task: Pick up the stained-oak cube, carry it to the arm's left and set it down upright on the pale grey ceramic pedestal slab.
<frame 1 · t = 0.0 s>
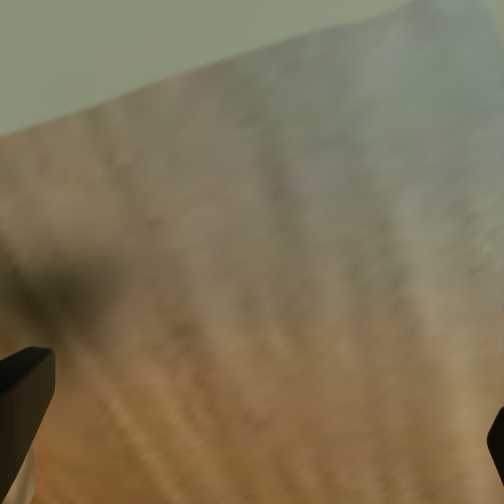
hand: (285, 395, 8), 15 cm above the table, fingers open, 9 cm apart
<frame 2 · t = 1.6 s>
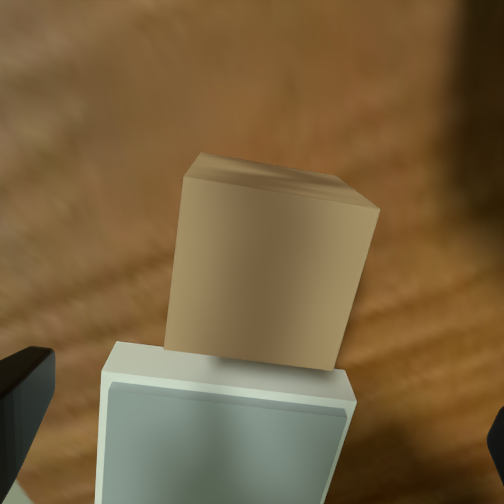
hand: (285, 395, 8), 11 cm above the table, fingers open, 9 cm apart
oak cube: (257, 228, 19), on the table
pedestal: (217, 443, 23), on the table
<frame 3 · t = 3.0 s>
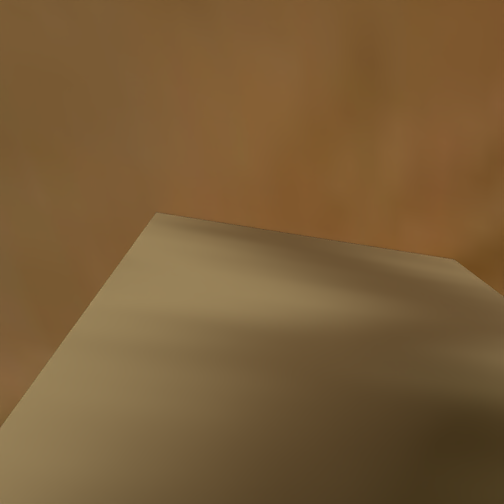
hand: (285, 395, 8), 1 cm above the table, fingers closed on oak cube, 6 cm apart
oak cube: (280, 363, 9), on the table, touching gripper
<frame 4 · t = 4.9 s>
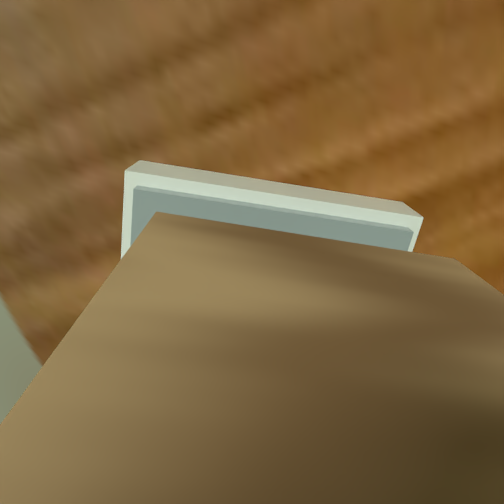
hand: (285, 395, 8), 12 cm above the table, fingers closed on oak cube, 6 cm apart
oak cube: (280, 362, 9), point 11 cm above the table, touching gripper
pedestal: (252, 298, 20), on the table
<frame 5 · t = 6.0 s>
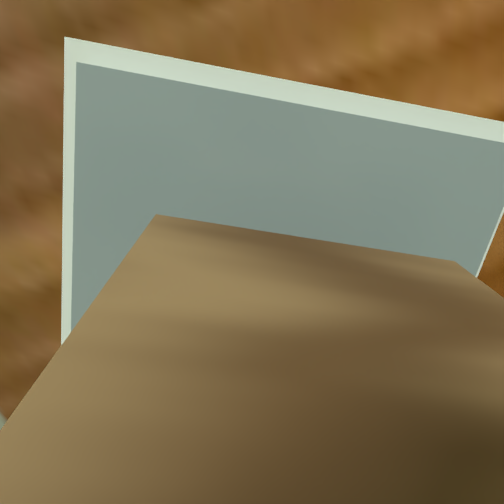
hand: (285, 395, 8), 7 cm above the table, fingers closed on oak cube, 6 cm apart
oak cube: (280, 364, 9), point 6 cm above the table, touching gripper
pedestal: (263, 268, 14), on the table
when the fingers open (5 cm above the table, at t = 6.8 s): oak cube stays where it is, resting on pedestal.
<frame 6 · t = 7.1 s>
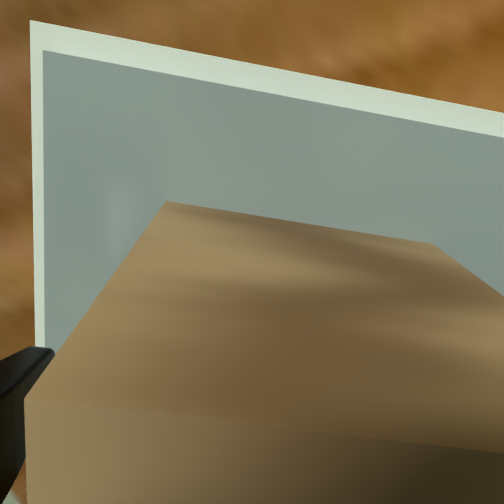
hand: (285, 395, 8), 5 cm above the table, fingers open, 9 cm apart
oak cube: (277, 339, 10), point 3 cm above the table, touching pedestal
pedestal: (267, 286, 13), on the table
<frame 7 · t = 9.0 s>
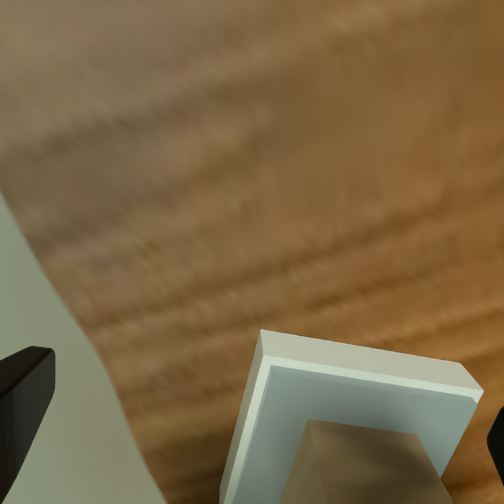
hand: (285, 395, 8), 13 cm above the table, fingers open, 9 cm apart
oak cube: (346, 468, 22), point 3 cm above the table, touching pedestal
pedestal: (333, 427, 25), on the table
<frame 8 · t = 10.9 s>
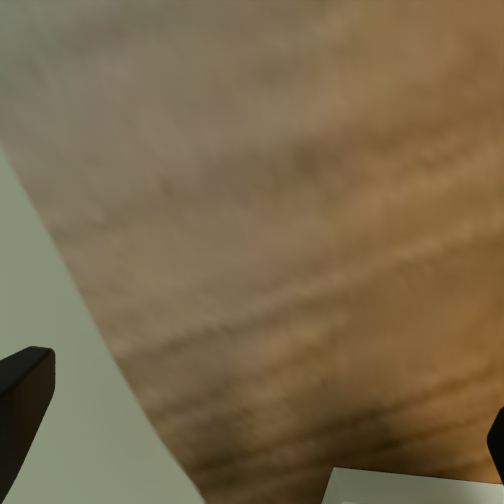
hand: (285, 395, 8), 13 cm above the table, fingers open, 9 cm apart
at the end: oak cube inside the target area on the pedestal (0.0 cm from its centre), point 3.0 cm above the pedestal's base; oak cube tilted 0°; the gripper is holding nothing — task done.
